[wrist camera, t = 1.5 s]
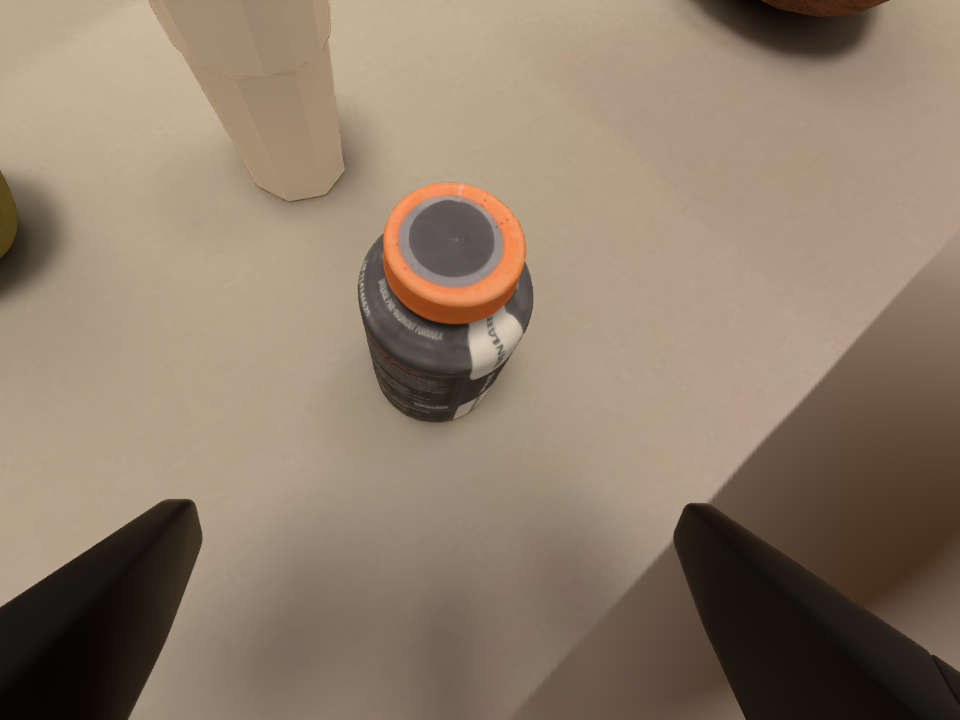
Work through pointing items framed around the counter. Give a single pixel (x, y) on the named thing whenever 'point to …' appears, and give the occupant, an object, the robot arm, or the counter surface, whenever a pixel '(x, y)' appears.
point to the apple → (7, 217)
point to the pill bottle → (444, 299)
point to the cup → (266, 84)
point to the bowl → (825, 6)
